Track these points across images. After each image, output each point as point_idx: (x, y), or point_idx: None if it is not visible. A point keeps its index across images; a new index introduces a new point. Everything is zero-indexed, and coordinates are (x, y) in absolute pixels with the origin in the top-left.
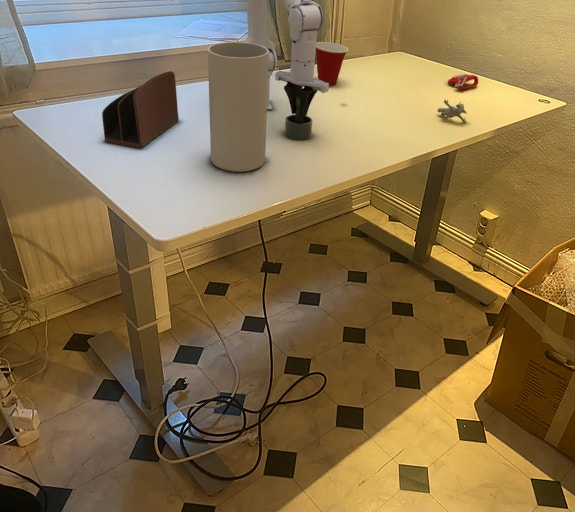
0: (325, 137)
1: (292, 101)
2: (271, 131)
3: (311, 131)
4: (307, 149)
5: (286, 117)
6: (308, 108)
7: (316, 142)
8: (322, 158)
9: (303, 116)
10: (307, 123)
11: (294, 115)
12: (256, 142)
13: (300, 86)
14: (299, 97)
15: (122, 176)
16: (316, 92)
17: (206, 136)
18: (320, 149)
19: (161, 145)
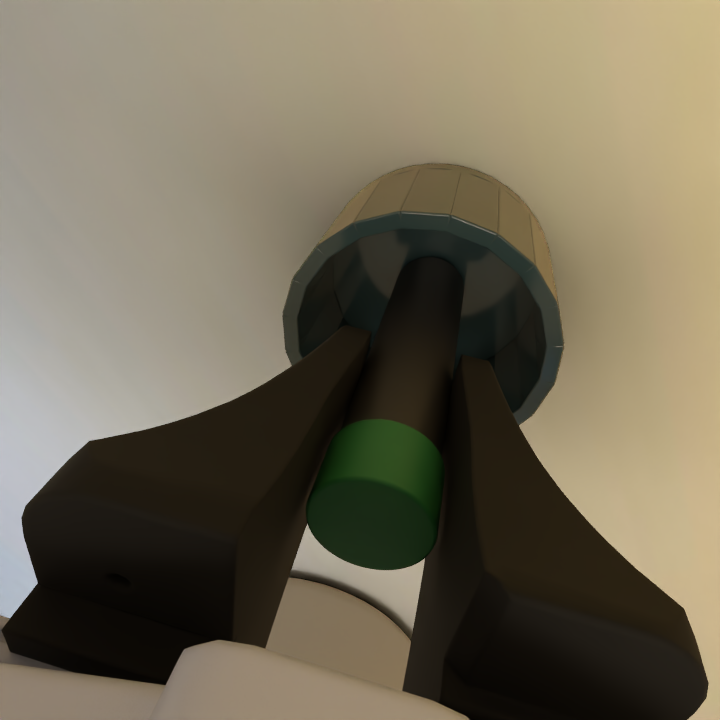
0: (697, 212)
1: (304, 528)
2: (231, 302)
3: (549, 253)
4: (583, 470)
5: (291, 356)
6: (504, 401)
7: (626, 348)
8: (714, 548)
9: (419, 224)
10: (532, 409)
11: (325, 260)
12: None
13: (256, 557)
14: (356, 528)
15: None
16: (650, 587)
17: (33, 490)
18: (681, 444)
19: (4, 594)
